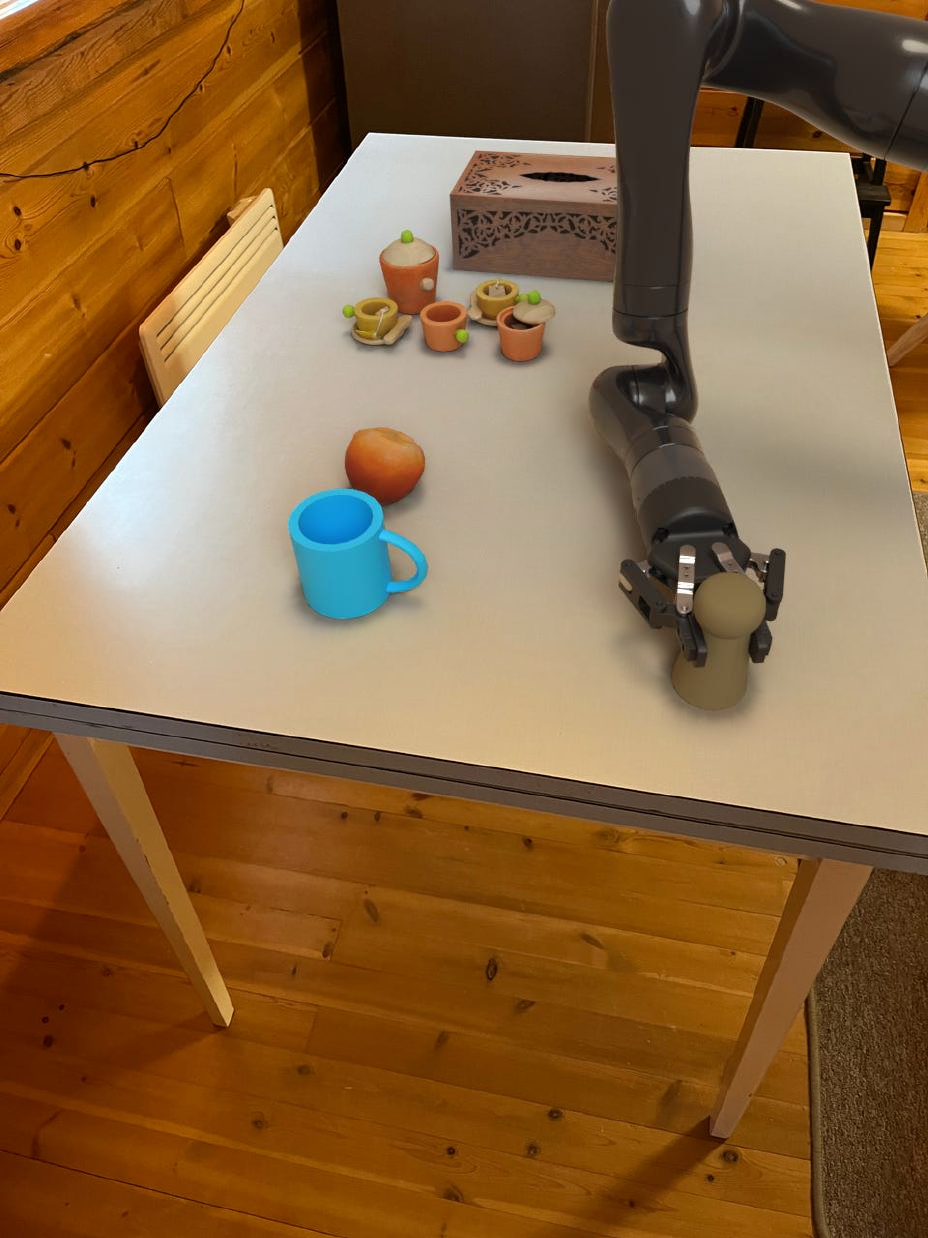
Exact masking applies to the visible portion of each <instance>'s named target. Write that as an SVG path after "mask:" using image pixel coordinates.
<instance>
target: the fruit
mask: <svg viewBox="0 0 928 1238" xmlns="http://www.w3.org/2000/svg"><path fill="white" fill-rule="evenodd" d="M425 469H426V457H425V454H424V449H423V448H422V447H421V446H420V445H419V444H418V443H417V442H416V441H415V440H414V438H413V437H411V436H410V435H407V434H406V433H403V432H402V431H398V430H395V429H393V428H389V427H381V426H379V427H378V426H377V427H371V428H365V429H359V430H357V431H356V432H354V433H353V435H352V438H351V439H350V442H349V444H348V446H347V448H346V451H345V454H344V471H345V474H346V477H347V480H348V483H349V485H350V487H351V489H353V490H357V491H361V492H365V493H366V494H368V495H370V496H372V497H373V498H375V499H376V501H377V502H378V503H379V504H380V506H382V505H388V504H392V503H393V504H394V503H397V502H399V501H401V500H402V499H404V498H405V497H406V496H407V495H409V494H410V493H411V492H412V491H413V490H414V488H415V487H416V486H417V484H418V483H419V481H420V480H421V478H422V475H423V474H424V472H425Z"/></svg>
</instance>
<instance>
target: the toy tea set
mask: <svg viewBox="0 0 928 1238" xmlns="http://www.w3.org/2000/svg"><path fill="white" fill-rule="evenodd" d="M378 261H379V266H380V269H381V273H382V276H383V280H384V284H385V289H386V292H387V295H388V298H387V297H381V296H379V297H378V296H377V297H376V296H375V297H369V298H365V299H362V300H360V301H359V302H357V303H356V304H355V305H354V306H353V305H351V304H346V305H344V306H343V308H342V315H343V317H345V318H347V319H351V318H353V317H354V318H355V322H354V323H353V324H352V326H351V336H352V337H353V338H354V339H355V340H356V341H357V342H359V343H362V344H365V345H372V346H379V345H392V344H394V343H395V342H396V341H397V340H398V339H400V338H401V337H402V336H403V335H404V333H405V331H406V329H408V328H409V327H410V326H411V325H412V324H413V317H412V315H416V314H419V319H420V323H421V327H422V330H423V335H424V339H425V343H426V345H427V347H428V348H430V349H431V350H432V351H433V350H434V351H436V352H440V353H441V352H443V353H444V352H451V351H455V350H457V349H459V348H460V347H461V346H462V345H463V344H465V343H466V342H467V341H469V338H470V334H469V332H468V330H466V328H467V321H468V319H469V320H471V321H475V322H477V323H479V324H482V325H485V326H490V327H494V326H495V327H497V331H498V336H499V342H500V346H501V352H502V354H503V356H505V357H506V359H509V360H511V361H515V362H525V361H526V362H527V361H531V360H533V359H536V357H538V356H539V355H540V353H541V350H542V344H543V340H544V334H545V329H546V323H547V322H548V321H550V320H552V319H553V318H554V317H555V316H556V314H557V313H556V312H557V309H556V307H555V306H554V304H553V303H552V302H550V301H549V300H546V299H545V298H541V296H542V295H541V293H540V292H539V291H537V290H531V291H529V293H528V294H527V293H522V294H520V288H519V286H518V284H517V283H515V282H514V281H512V280H508V279H500V278H499V277H497V278H495V279H490V280H486V281H483V282H481V283H480V284H478V286H476V288H475V290H473V291H471V292H470V294H469V302H470V308H469V309H467V308H466V307H465V306H464V305H463V304H461V303H459V302H456V301H449V300H441V301H436V298H437V297H436V296H437V285H438V275H439V274H438V273H439V263H440V254H439V251H438V249H437V248H436V247H435V246H434V245H433V244H430V243H428V242H427V241H425V240H424V239H421V238H419V237H416V236H414V234H413V232H412V231H411V230H409V229H405V230H404V231H403V230H402V232H401V234H400V237H399V238H398V239H396V240H394V241H392V242H391V243H390V244H389V245H387V246H386V247H385V248H383V250H382V251H381V252H380V254H379V256H378ZM398 313H400V314H402V315H400V316H398Z"/></svg>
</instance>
